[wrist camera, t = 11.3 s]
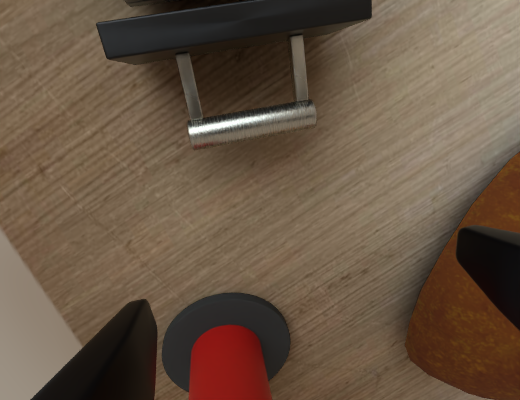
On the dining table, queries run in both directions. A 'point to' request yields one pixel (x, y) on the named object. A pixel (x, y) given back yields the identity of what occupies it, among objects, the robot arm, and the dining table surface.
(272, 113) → the drawer
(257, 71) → the dining table surface
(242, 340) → the ketchup bottle
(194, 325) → the disc
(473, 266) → the robot arm
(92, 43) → the dining table surface
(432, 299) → the bread
